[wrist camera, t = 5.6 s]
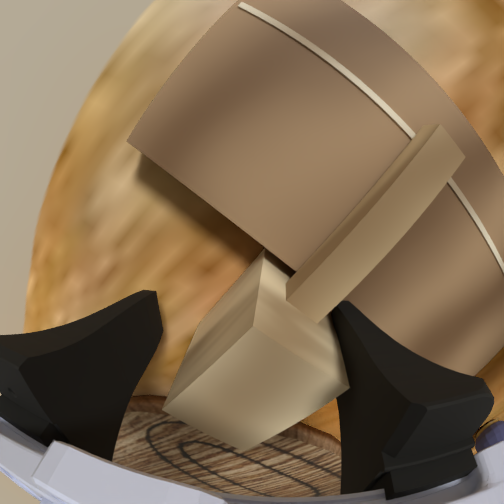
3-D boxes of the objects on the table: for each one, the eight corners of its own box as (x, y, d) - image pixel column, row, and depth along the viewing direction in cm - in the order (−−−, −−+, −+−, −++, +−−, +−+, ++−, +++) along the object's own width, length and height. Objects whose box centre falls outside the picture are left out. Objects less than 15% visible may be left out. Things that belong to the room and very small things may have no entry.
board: (533, 278, 11) (548, 289, 9) (442, 379, 14) (451, 397, 12) (279, -16, 8) (278, -36, 6) (145, 141, 11) (125, 141, 9)
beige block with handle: (438, 170, 10) (527, 194, 5) (244, 370, 14) (228, 458, 9) (383, 109, 9) (461, 86, 4) (189, 334, 14) (151, 418, 9)
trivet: (232, 516, 26) (230, 526, 25) (68, 431, 22) (61, 442, 20) (400, 465, 18) (404, 480, 17) (182, 328, 14) (171, 351, 12)
